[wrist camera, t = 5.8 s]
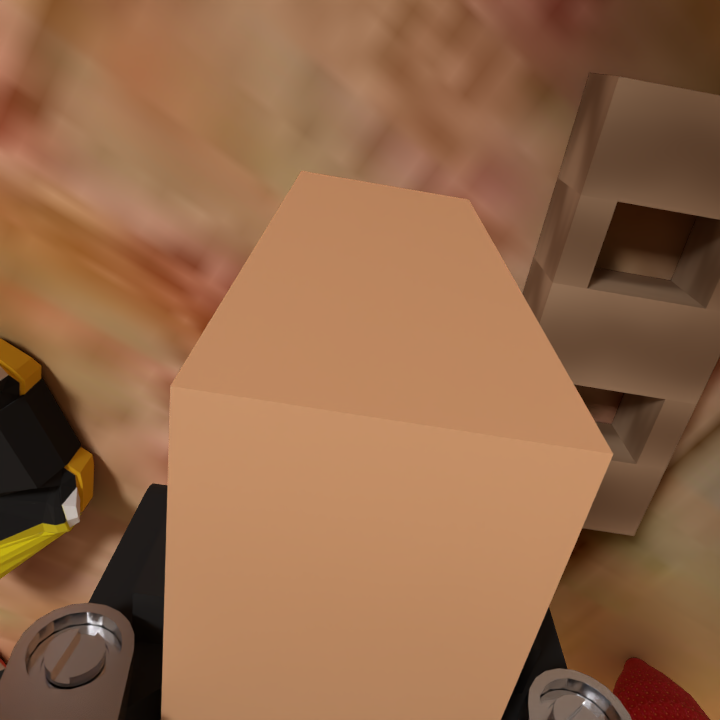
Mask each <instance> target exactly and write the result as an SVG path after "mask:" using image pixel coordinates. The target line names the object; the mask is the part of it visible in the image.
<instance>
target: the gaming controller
mask: <svg viewBox="0 0 720 720" xmlns="http://www.w3.org/2000/svg"><path fill="white" fill-rule="evenodd" d="M41 367H42V366H41V365H40V364H39V363H37V362H36V361H35V360H34V359H33V358H32V357H30V356H28V355H27V354H25V353H23V352H22V351H20V350H19V349H17V348H15V347H14V346H12V345H10V344H9V343H7V342H6V341H4V340H2V339H1V338H0V579H1V578H2V577H4V576H5V575H6V574H8V573H9V572H11V571H12V570H13V569H15V568H16V567H18V566H19V565H20V564H22V563H23V562H25V561H26V560H27V559H29V558H30V557H32V556H33V555H34V554H36V553H37V552H39V551H40V550H41V549H43V548H44V547H46V546H47V545H49V544H50V543H51V542H53V541H54V540H56V539H57V538H59V537H60V536H61V535H63V534H64V533H66V532H70V531H71V529H72V528H73V527H74V525H75V524H77V523H79V522H80V516H81V514H82V512H83V510H84V509H85V507H86V506H87V505H88V503H89V502H90V500H91V499H92V497H93V481H94V461H93V455H92V454H91V453H90V452H88V451H87V450H85V449H83V448H82V447H81V444H80V442H79V441H78V439H77V437H76V435H75V434H74V432H73V430H72V429H71V427H70V425H69V423H68V422H67V420H66V418H65V416H64V415H63V413H62V411H61V410H60V408H59V406H58V404H57V403H56V401H55V399H54V398H53V396H52V394H51V392H50V391H49V389H48V387H47V385H46V384H45V382H44V380H43V379H42V378H41Z"/></svg>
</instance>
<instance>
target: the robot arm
mask: <svg viewBox="0 0 720 720" xmlns="http://www.w3.org/2000/svg"><path fill="white" fill-rule="evenodd" d="M167 488H168V486H167V485H160V484H152V485H150V486H149V488H148V489H147V491H146V493H145V495H144V497H143V499H142V500H141V502H140V504H139V506H138V508H137V510H136V512H135V514H134V516H133V518H132V520H131V522H130V524H129V526H128V527H127V529H126V531H125V533H124V535H123V537H122V539H121V541H120V543H119V545H118V547H117V549H116V551H115V553H114V554H113V556H112V558H111V560H110V562H109V564H108V566H107V568H106V570H105V572H104V574H103V576H102V578H101V580H100V581H99V583H98V585H97V587H96V589H95V591H94V593H93V595H92V597H91V599H90V601H89V603H82V604H72V605H69V606H65V607H62V608H59V609H56V610H53V611H52V612H50V613H48V614H46V615H45V616H43V617H41V618H40V619H38V620H36V621H35V622H34V623H33V624H32V625H31V626H30V627H29V628H28V629H27V630H26V631H25V632H24V633H23V634H22V636H21V637H20V639H19V641H18V642H17V644H16V645H15V647H14V649H13V651H12V654H11V656H10V658H9V661H8V663H7V665H6V668H5V669H3V670H1V671H0V720H161V701H162V666H163V630H164V594H165V559H166V523H167ZM501 720H632V719H631V717H630V715H629V713H628V712H627V710H626V709H625V707H624V706H623V704H622V703H621V701H620V700H619V699H618V698H617V697H616V696H615V695H614V694H613V693H612V692H611V691H610V690H609V689H608V688H607V687H606V686H604V685H603V684H601V683H600V682H598V681H597V680H595V679H593V678H592V677H590V676H588V675H585V674H583V673H580V672H578V671H575V670H569V669H567V666H566V663H565V659H564V656H563V653H562V649H561V646H560V643H559V639H558V636H557V633H556V629H555V626H554V623H553V619H552V616H551V613H550V609H549V607H548V610H547V612H546V614H545V617H544V619H543V621H542V624H541V626H540V628H539V631H538V633H537V636H536V638H535V640H534V643H533V645H532V647H531V650H530V652H529V654H528V657H527V659H526V661H525V664H524V666H523V669H522V671H521V673H520V676H519V678H518V680H517V683H516V685H515V687H514V690H513V692H512V694H511V697H510V699H509V702H508V704H507V706H506V709H505V711H504V713H503V716H502V718H501Z"/></svg>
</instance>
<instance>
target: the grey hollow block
mask: <svg viewBox="0 0 720 720" xmlns="http://www.w3.org/2000/svg"><path fill="white" fill-rule="evenodd" d="M617 202H623V203H629V204H634V205H640V206H646V207H651V208H657V209H663V210H668V211H674V212H680V213H685V214H691V215H696V216H697V219H696V221H695V224H694V226H693V228H692V231H691V233H690V236H689V238H688V240H687V243H686V245H685V248H684V250H683V253H682V255H681V257H680V260H679V262H678V265H677V267H676V270H675V272H674V274H673V277H672V279H671V280H665V279H659V278H653V277H647V276H642V275H636V274H630V273H624V272H618V271H612V270H607V269H601V268H595V264H596V261H597V259H598V256H599V253H600V250H601V247H602V244H603V242H604V239H605V236H606V233H607V230H608V227H609V224H610V222H611V219H612V216H613V213H614V210H615V207H616V204H617ZM523 296H524V298H525V300H526V301H527V303H528V305H529V307H530V308H531V310H532V312H533V314H534V315H535V317H536V319H537V321H538V322H539V324H540V326H541V328H542V329H543V331H544V333H545V335H546V336H547V338H548V340H549V342H550V343H551V345H552V347H553V349H554V351H555V352H556V354H557V356H558V358H559V359H560V361H561V363H562V365H563V366H564V368H565V370H566V372H567V373H568V375H569V377H570V379H571V380H572V382H573V384H574V385H580V386H586V387H593V388H599V389H605V390H611V391H617V392H624V396H623V398H622V400H621V403H620V405H619V408H618V410H617V413H616V415H615V417H614V420H613V422H612V424H607V423H601V422H595V423H596V424H597V426H598V428H599V430H600V431H601V433H602V435H603V437H604V438H605V440H606V442H607V444H608V446H609V447H610V449H611V451H612V453H613V456H612V459H611V461H610V463H609V466H608V468H607V470H606V473H605V475H604V477H603V480H602V482H601V485H600V487H599V489H598V492H597V494H596V496H595V499H594V501H593V503H592V506H591V508H590V510H589V513H588V515H587V518H586V520H585V522H584V525H583V527H582V528H585V529H591V530H598V531H604V532H611V533H618V534H624V535H631V536H634V535H635V533H636V531H637V528H638V526H639V524H640V522H641V520H642V518H643V516H644V514H645V512H646V510H647V508H648V505H649V503H650V501H651V499H652V497H653V495H654V493H655V491H656V489H657V487H658V485H659V482H660V480H661V478H662V476H663V474H664V472H665V470H666V468H667V466H668V464H669V461H670V459H671V457H672V455H673V453H674V451H675V449H676V447H677V445H678V443H679V441H680V438H681V436H682V434H683V432H684V430H685V428H686V426H687V424H688V422H689V420H690V417H691V415H692V413H693V411H694V409H695V407H696V405H697V403H698V401H699V399H700V397H701V394H702V392H703V390H704V388H705V386H706V384H707V382H708V380H709V378H710V376H711V373H712V371H713V369H714V367H715V365H716V363H717V361H718V359H719V357H720V95H715V94H710V93H705V92H699V91H694V90H689V89H683V88H678V87H673V86H667V85H662V84H657V83H651V82H646V81H641V80H635V79H630V78H625V77H620V76H612V75H604V74H596V73H589V76H588V79H587V83H586V86H585V89H584V93H583V96H582V99H581V102H580V106H579V109H578V112H577V116H576V119H575V122H574V126H573V129H572V132H571V136H570V139H569V142H568V145H567V149H566V152H565V155H564V159H563V162H562V165H561V169H560V172H559V175H558V179H557V182H556V185H555V188H554V192H553V195H552V198H551V202H550V205H549V208H548V212H547V215H546V218H545V222H544V225H543V228H542V231H541V235H540V238H539V241H538V245H537V248H536V251H535V255H534V258H533V261H532V264H531V268H530V271H529V274H528V278H527V281H526V284H525V288H524V291H523Z"/></svg>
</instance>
